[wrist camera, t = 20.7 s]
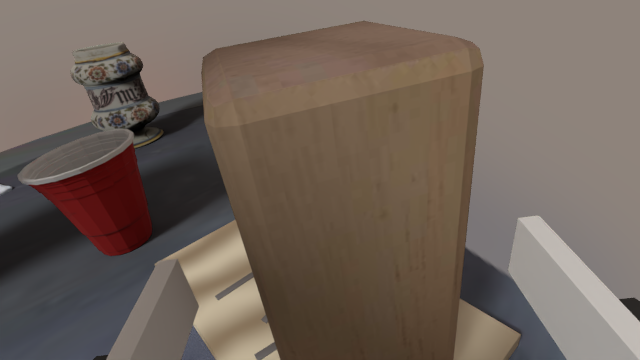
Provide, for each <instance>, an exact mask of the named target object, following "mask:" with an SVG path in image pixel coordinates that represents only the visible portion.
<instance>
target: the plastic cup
mask: <svg viewBox="0 0 640 360" xmlns="http://www.w3.org/2000/svg"><path fill="white" fill-rule="evenodd" d="M133 138H134V134H133V132H132V131H130V130H128V129H114V130H110V131H105V132H100V133H96V134H93V135H90V136H87V137H84V138H80V139H78V140H75V141H73V142H70V143H68V144H65V145H63V146H60V147H58V148H56V149H54V150H52V151H50V152H48V153H46V154H44V155H42V156H40V157H39V158H37V159H36V160H34V161H33V162H31V163H30V164H28V165H27V166H25V167H24V168H23V170H22V171H21V172H20V173H19V174H18V175H17V176H18V178H19V181H20V182H22V183H23V184H28V185H29V186H31V187H33V188H35V189H36V190H37V191H38V192H39V193H42V194H43V195H44V196H45V197H46V198H47V199H48V200H50V201H51V202H52V203H53V204H54V205H55V206H56V207H57V208H58V209H59V210H60V211H61V212H62V213H63V214H64V215H65V216H66V217H67V218H68V219H69V220H70V221H71V222H72V223H73V224H74V225H75V226H76V227H77V229H78V230H79V231H80V232H81V233H82V234H83V235H86V236H87V238H88V239H89V240H90V241H91V242H92V243H93V244H94V245H95V246H96V247H97V248H98V250H99V251H102V252H103V253H104V254H106V255H109V256H114V255H121V254H124V253H128V252H131V251H132V250H134V249H136V248H138V247H140V246H141V245H142V244H144V243H145V242H146V241H147V240H148V239H149V237H150V236H151V234H152V223H151V219H150V215H149V211H148V207H147V206H148V203H147V199H146V196H145V192H144V188H143V184H142V180H141V177H140V173H139V169H138V165H137V159H136V155H135V149H134V146H133Z"/></svg>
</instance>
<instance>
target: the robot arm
mask: <svg viewBox="0 0 640 360" xmlns="http://www.w3.org/2000/svg"><path fill="white" fill-rule="evenodd" d="M508 272H509V274H510V275H511V277H512V278H513V280H514V281H515V283H516V284H517V286H518V287H519V289H520V290H521V292H522V293H523V295H524V296H525V298H526V299H527V301H528V302H529V304H530V305H531V307H532V308H533V310H534V311H535V313H536V314H537V316H538V317H539V319H540V320H541V322H542V323H543V325H544V326H545V328H546V329H547V331H548V332H549V334H550V335H551V337H552V338H553V340H554V341H555V343H556V344H557V346H558V347H559V349H560V350H561V352H562V353H563V355H564V356H565V358H566V359H567V360H640V301H638V300H637V299H635V298H627V299H618V298H617V297H616V296H615V295H614V294H613V293H612V292H611V291H610V290H609V289H608V288H607V287H606V286H605V285H604V284H603V283H602V281H601V280H600V279H599V278H598V277H597V276H596V275H595V274H594V273H593V272H592V271H591V270H590V269H589V268H588V267H587V266H586V265H585V264H584V262H583V261H582V260H581V259H580V258H579V257H578V256H577V255H576V254H575V253H574V252H573V251H572V250H571V249H570V248H569V247H568V246H567V245H566V244H565V242H563V240H562V239H561V238H560V237H559V236H558V235H557V234H556V233H555V232H554V231H553V230H552V229H551V228H550V227H549V226H548V225H547V224H546V222H545V221H543V219H542V218H541V217H540V216H530V217H522V218H518V220H517V225H516V231H515V236H514V241H513V247H512V252H511V257H510V262H509V268H508ZM198 308H199V305H198V302H197V300H196V298H195V296H194V294H193V292H192V289H191V287H190V285H189V283H188V281H187V278H186V276H185V274H184V272H183V270H182V268H181V265H180V263H179V261H178V259H171V260H163V261H158V263H157V265H156V267H155V269H154V270H153V272H152V274H151V276H150V278H149V280H148V282H147V284H146V285H145V287H144V289H143V291H142V293H141V295H140V297H139V299H138V301H137V302H136V304H135V306H134V308H133V310H132V312H131V314H130V316H129V317H128V319H127V321H126V323H125V325H124V327H123V329H122V331H121V332H120V334H119V336H118V338H117V340H116V342H115V344H114V346H113V347H112V349H111V351H110V353H109V355H104V356H96V357H95V358H94V359H93V360H181V358H182V355H183V352H184V349H185V346H186V343H187V340H188V337H189V334H190V331H191V328H192V326H193V323H194V320H195V317H196V314H197V311H198Z"/></svg>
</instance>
